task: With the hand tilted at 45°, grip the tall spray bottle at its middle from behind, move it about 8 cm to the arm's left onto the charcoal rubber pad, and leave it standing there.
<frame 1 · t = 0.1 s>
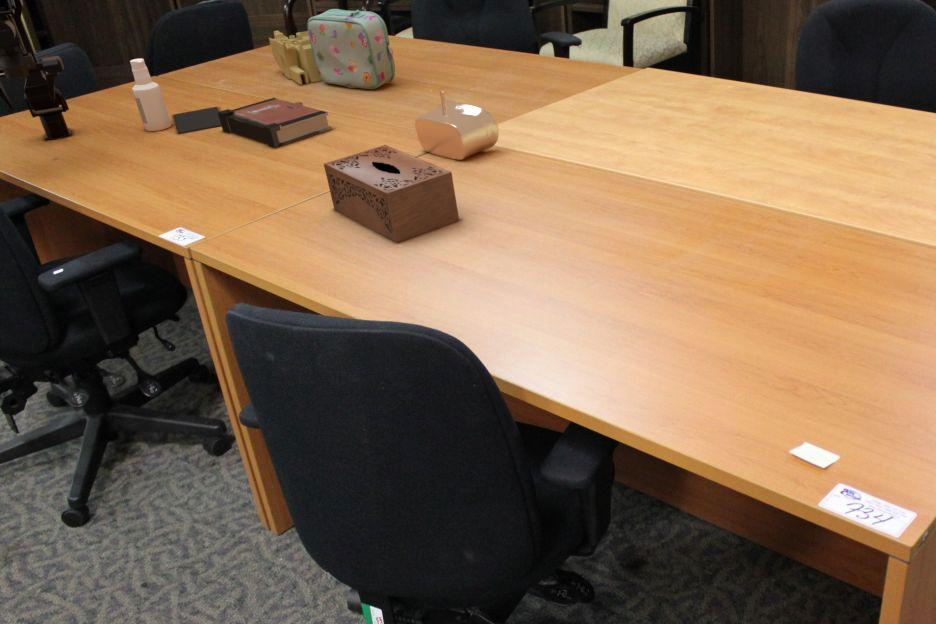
hand: (33, 106, 235), 15 cm above the table, tool pointing down, fingers open, 9 cm apart
beige blocky piece: (318, 72, 304), on the table
lunch box: (360, 85, 288), on the table
tissue box cover: (395, 215, 199), on the table
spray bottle: (158, 128, 265), on the table
pad: (198, 120, 268), on the table
book: (277, 130, 255), on the table
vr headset: (461, 151, 230), on the table
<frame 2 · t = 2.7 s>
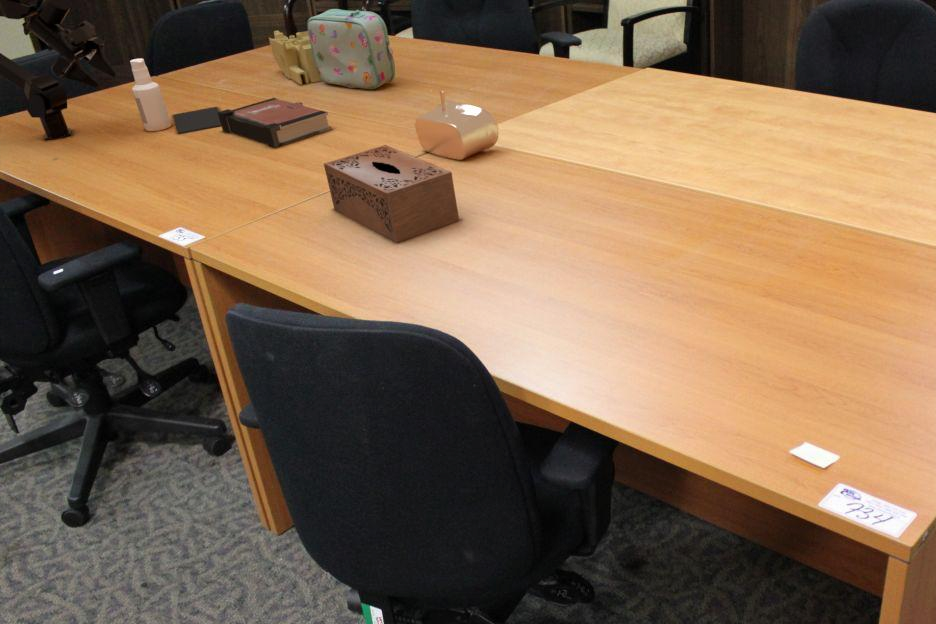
hand: (107, 80, 254), 14 cm above the table, tool tilted 40°, fingers open, 9 cm apart
nothing on the table moved.
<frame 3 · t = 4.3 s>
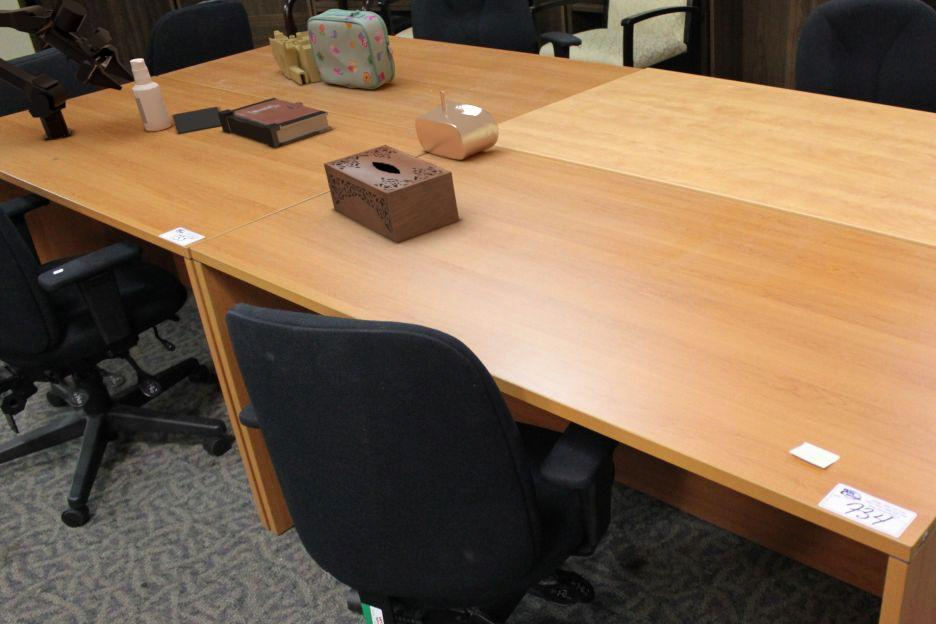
hand: (127, 84, 258), 12 cm above the table, tool tilted 45°, fingers open, 9 cm apart
nothing on the table moved.
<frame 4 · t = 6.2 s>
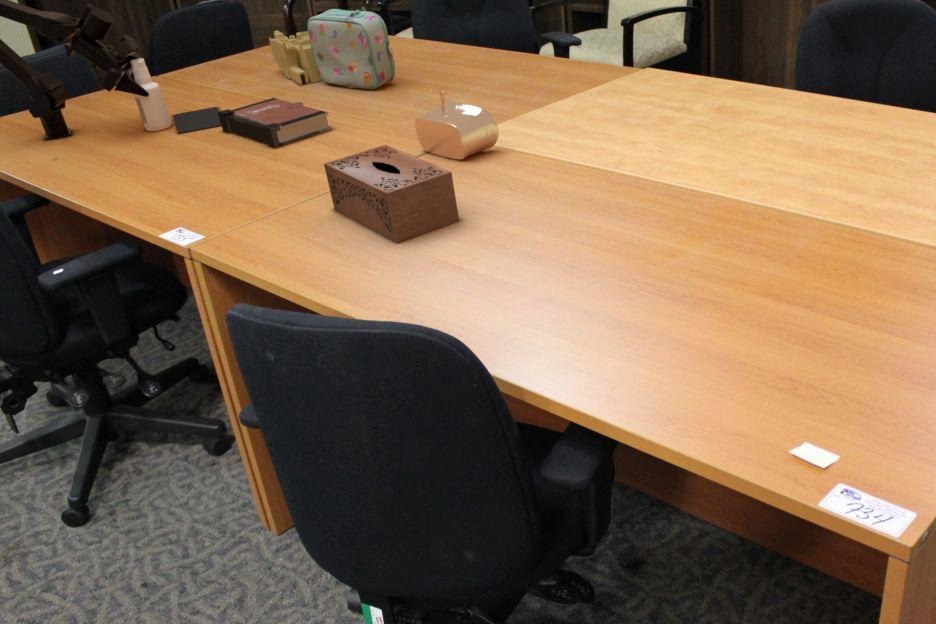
hand: (152, 91, 259), 10 cm above the table, tool tilted 45°, fingers closed on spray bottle, 7 cm apart
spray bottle: (158, 128, 265), on the table, touching gripper
everything else where it was.
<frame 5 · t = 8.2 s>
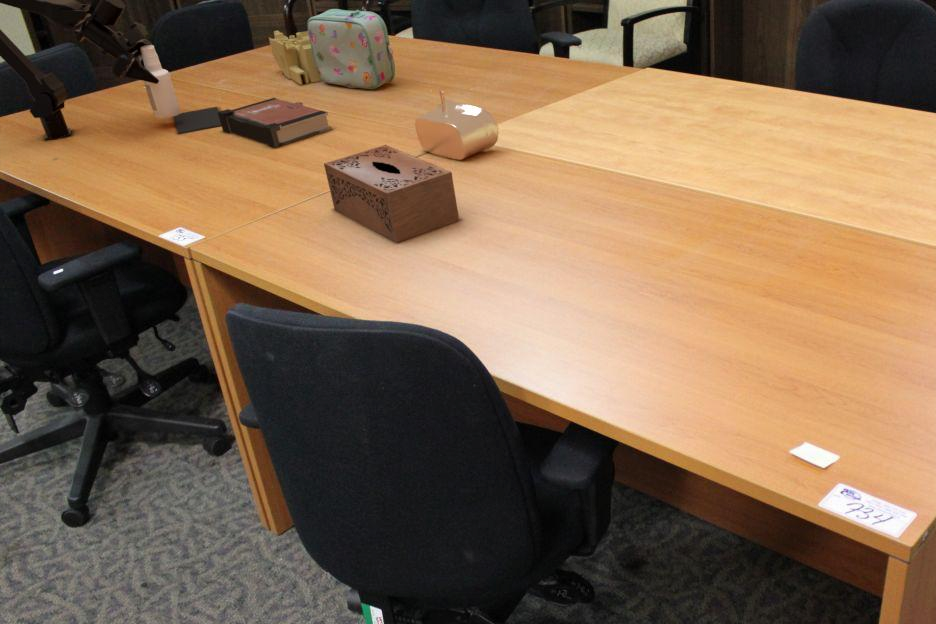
hand: (162, 78, 259), 12 cm above the table, tool tilted 45°, fingers closed on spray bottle, 7 cm apart
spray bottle: (168, 115, 264), point 3 cm above the table, touching gripper
everything else where it was.
when the fingers open (10 cm above the table, at t = 10.6 s): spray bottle stays where it is, resting on pad.
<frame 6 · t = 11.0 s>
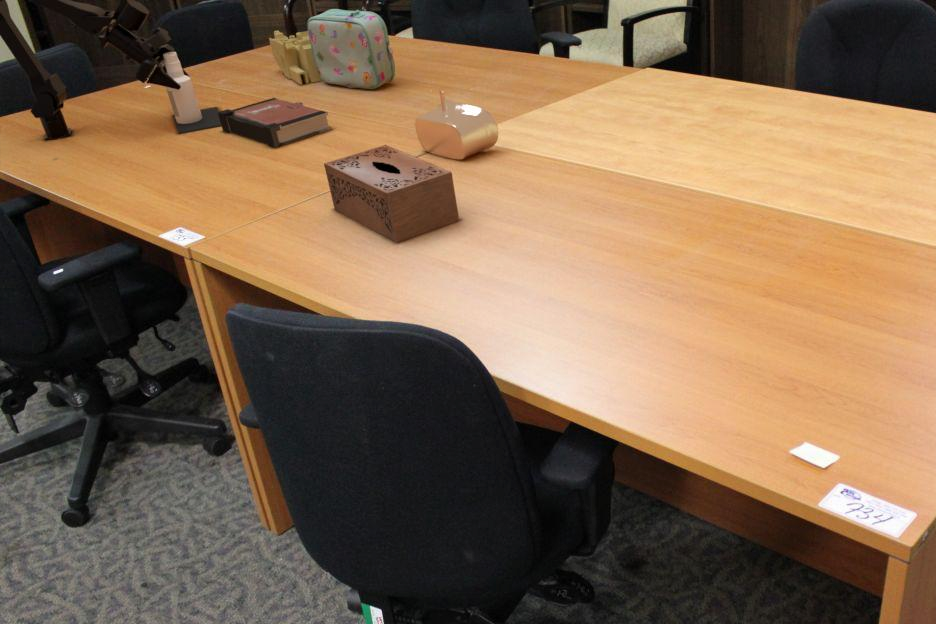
hand: (184, 83, 262), 10 cm above the table, tool tilted 45°, fingers open, 9 cm apart
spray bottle: (190, 121, 267), resting on pad
everything else where it was.
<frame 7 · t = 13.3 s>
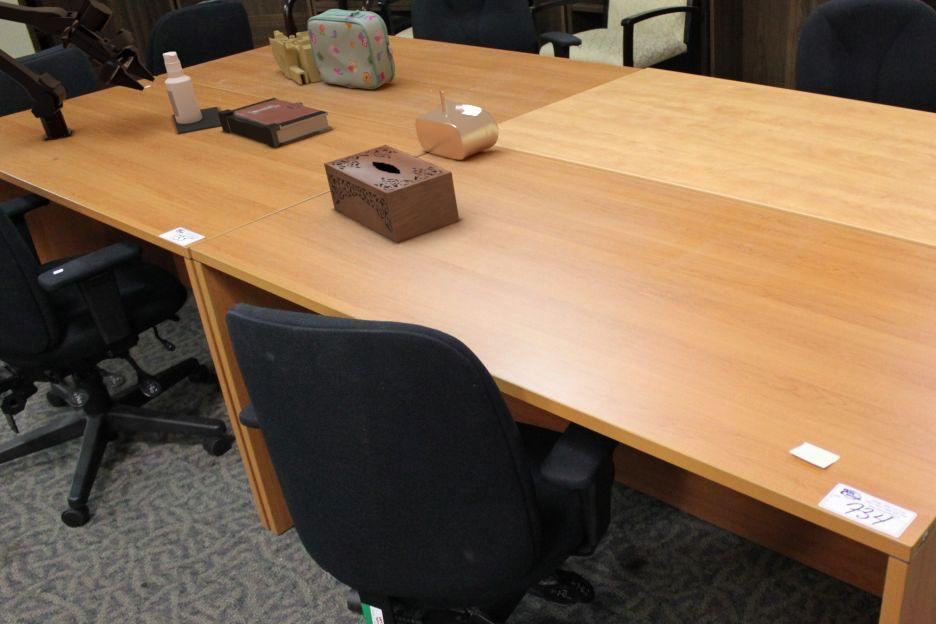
hand: (148, 84, 261), 11 cm above the table, tool tilted 45°, fingers open, 9 cm apart
nothing on the table moved.
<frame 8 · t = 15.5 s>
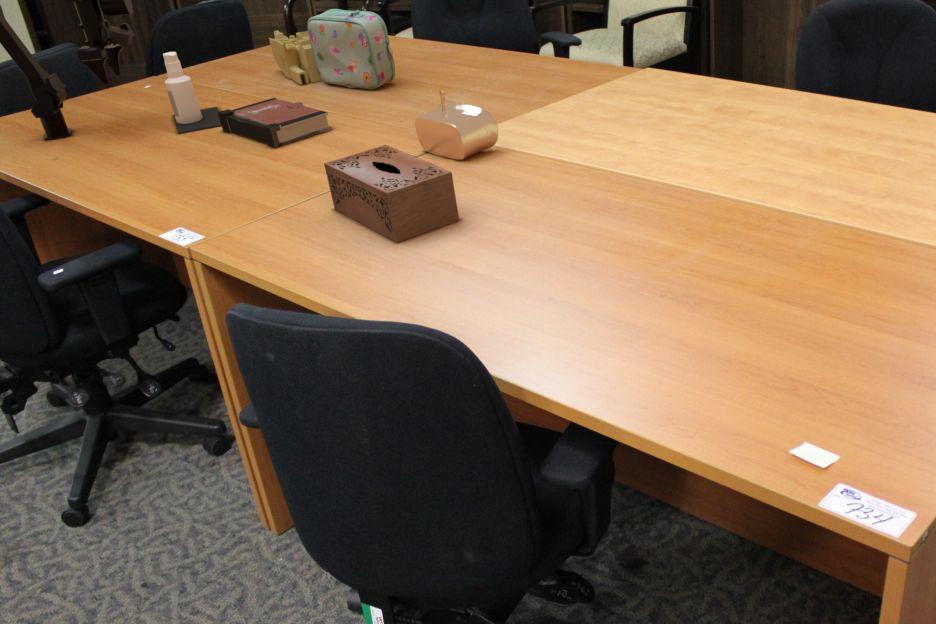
hand: (112, 79, 260), 13 cm above the table, tool pointing down, fingers open, 9 cm apart
nothing on the table moved.
at the end: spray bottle inside the target area on the pad (2.2 cm from its centre), point 0.1 cm above the pad's base; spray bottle tilted 0°; the gripper is holding nothing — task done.
